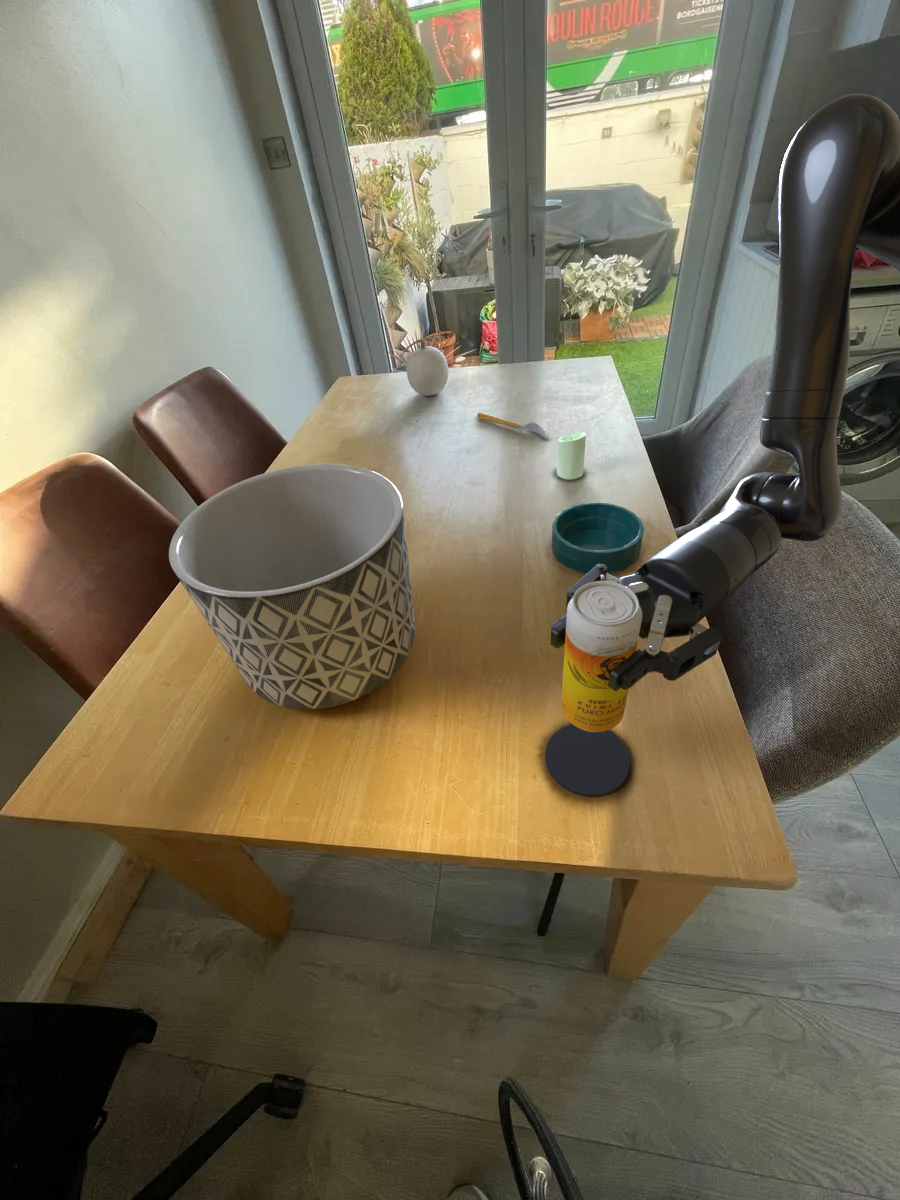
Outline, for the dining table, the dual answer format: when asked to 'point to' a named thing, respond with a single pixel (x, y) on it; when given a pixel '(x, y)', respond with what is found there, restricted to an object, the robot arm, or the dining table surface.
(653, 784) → the dining table surface
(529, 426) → the fork
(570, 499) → the dining table surface
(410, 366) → the fruit
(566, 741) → the coaster
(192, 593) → the planter
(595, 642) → the beer can
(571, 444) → the candle
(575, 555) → the bowl
